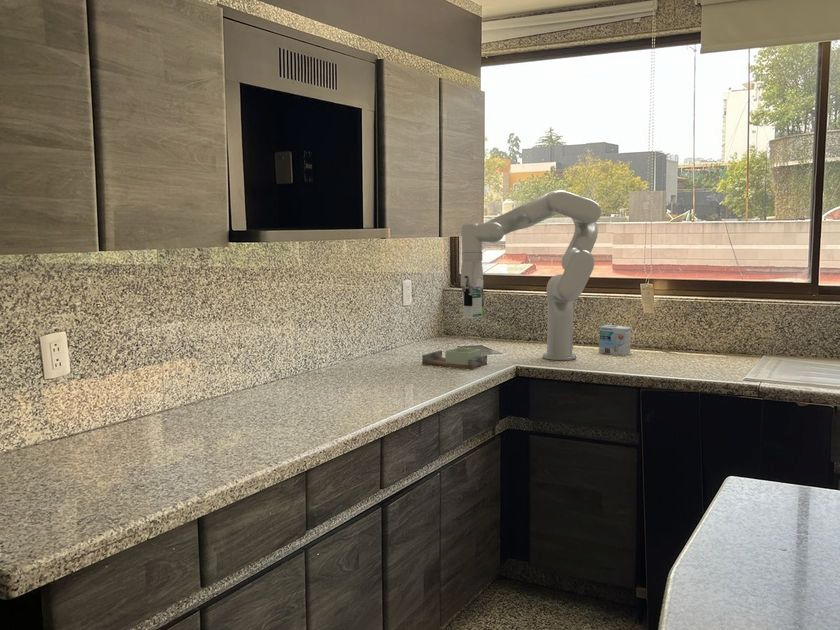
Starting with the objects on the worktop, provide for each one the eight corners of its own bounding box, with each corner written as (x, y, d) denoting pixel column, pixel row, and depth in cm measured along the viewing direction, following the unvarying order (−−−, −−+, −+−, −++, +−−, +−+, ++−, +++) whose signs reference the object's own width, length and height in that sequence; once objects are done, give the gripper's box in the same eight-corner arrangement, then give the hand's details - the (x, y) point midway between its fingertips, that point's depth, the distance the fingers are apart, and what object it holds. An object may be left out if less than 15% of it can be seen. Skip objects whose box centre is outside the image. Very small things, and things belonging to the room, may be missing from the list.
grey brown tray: (438, 359, 287) (438, 350, 287) (486, 364, 277) (486, 355, 276) (422, 364, 277) (422, 355, 276) (471, 370, 267) (472, 360, 266)
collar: (457, 359, 281) (457, 347, 281) (480, 361, 277) (480, 349, 276) (445, 363, 273) (445, 350, 273) (469, 365, 269) (469, 353, 268)
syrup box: (471, 319, 281) (470, 279, 279) (462, 317, 286) (461, 278, 284) (484, 317, 284) (483, 278, 282) (475, 316, 289) (474, 277, 287)
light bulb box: (598, 353, 302) (599, 326, 301) (604, 351, 307) (605, 324, 306) (624, 356, 296) (625, 328, 295) (630, 353, 301) (631, 326, 300)
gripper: (473, 255, 292) (474, 302, 294) (452, 258, 277) (453, 307, 279) (491, 255, 288) (492, 302, 290) (470, 258, 273) (471, 307, 275)
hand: (473, 304), depth 284 cm, fingers closed on syrup box, 7 cm apart
